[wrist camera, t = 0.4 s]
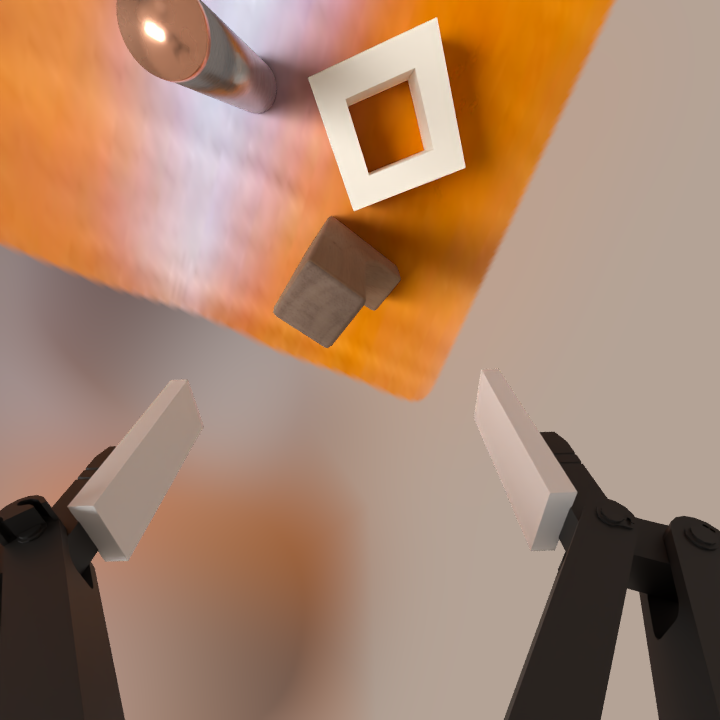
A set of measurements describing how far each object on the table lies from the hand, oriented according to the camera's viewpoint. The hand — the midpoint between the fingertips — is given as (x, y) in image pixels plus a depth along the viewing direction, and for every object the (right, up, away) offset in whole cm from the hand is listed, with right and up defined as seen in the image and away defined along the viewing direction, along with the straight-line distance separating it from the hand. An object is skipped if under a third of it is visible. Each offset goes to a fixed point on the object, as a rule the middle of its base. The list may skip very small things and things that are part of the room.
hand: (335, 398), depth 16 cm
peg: (-8, +26, +15) cm, 31 cm away
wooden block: (0, +13, +23) cm, 26 cm away
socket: (+4, +23, +17) cm, 29 cm away
